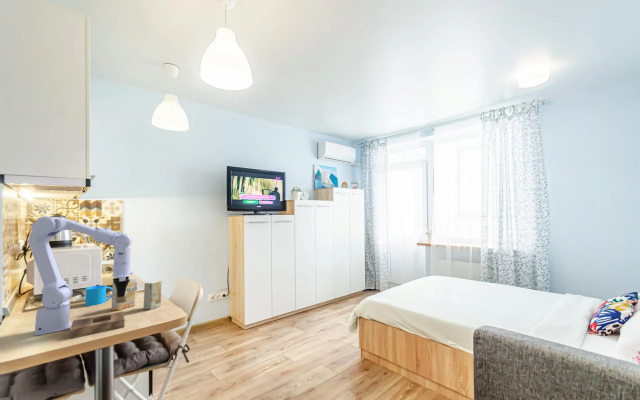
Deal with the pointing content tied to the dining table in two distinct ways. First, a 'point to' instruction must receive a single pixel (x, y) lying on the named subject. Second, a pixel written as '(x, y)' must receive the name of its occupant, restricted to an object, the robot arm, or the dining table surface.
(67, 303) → the robot arm
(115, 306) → the supplement box
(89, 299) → the mug
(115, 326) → the socket board
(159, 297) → the skincare box
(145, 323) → the dining table surface
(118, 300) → the pin
